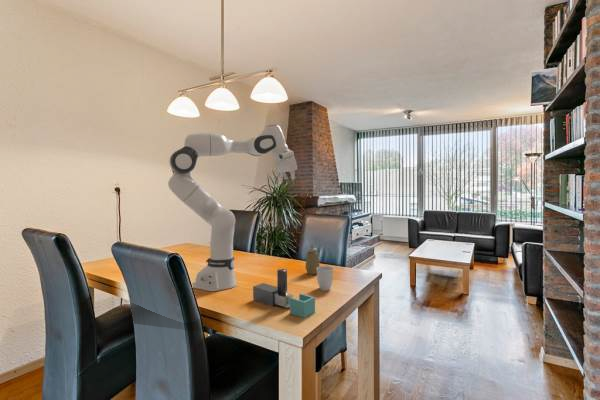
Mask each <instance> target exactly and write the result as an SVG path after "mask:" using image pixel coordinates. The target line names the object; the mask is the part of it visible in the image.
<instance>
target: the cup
mask: <svg viewBox="0 0 600 400" xmlns="http://www.w3.org/2000/svg"><path fill="white" fill-rule="evenodd" d="M316 279H317V283H318V287H319V289H320V290H321V291H330V290H331V288H332V285H333V279H334V267H332V266H329V265H320V267H317V274H316Z"/></svg>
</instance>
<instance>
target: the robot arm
mask: <svg viewBox="0 0 600 400" xmlns="http://www.w3.org/2000/svg"><path fill="white" fill-rule="evenodd" d="M269 152H271V153H272V156H273V159H274V161H273V162H274V166H275V170H276V171H277V173H280V174H281V176H282V177H283V179H284V180H288V179H289V177H288V175H287V173H289V174H290V178H291V180H295V179H296V176H295V175H296V171H297V170H298V163H297V161H296V158H295V153H294V151H293V150H291V149H290V148H289V146H288V144H287V143H286V137H285V135H284V133H283V129H282V128H281V126H279V125H278V124H270V125H266V126H265V127H264V129H263V130H262V131H261V133H259V134H258V135H257V136H256V137H253V138H250V139H248V140H235V139H234V140H233V139H230V138H227V136H225V135H224V134H222V133H221V134H220V133H216V132H215V133H214V132H198V133H190V134H188V135H187V136H186V137H185V139H184V146H183V147H182V148H179V149H177V150H175V151H174V152H173V153H172V154H171V155H170V157H169V160H168V161H169V166H170V168H171V171H172V173H173V174H172V175H171V176H170V177H169V180H168V183H167V185H168V188H169V190H170V191H171V192H172V193H173V194H174V195H175V196H176V197H177V199H179V200H180V201H181V202H182V203H184V204H185V205H186V206H187V207H188V208H190V209H191V210H192V211H193V212H194V213H195V214H197V215H198V216H199V217H200V218H201V219H203V220H204V222H206V223H207V224H208V225H210V226H211V232H210V233H211V235H210V241H209V249H210V252H209V253H210V257H208V258H207V259H206V260H205V263H207V265H206V266H204V267H203V268H202V269H201V270H200V271H198V272H197V274H196V275H195V276H196V277H195V281H193V282H192V283H191V284H192V285H193V288H192V289H197V290H203V291H207V292H208V291H209V292H218V291H222V290H223V291H224V290H227V289H231V288H234V287H236V286H237V285H238V283H237V279H236V275H235V257H234V236H235V228H236V217H235V214H234V213H233V212H232V210H230V209H227V208H225V207H224V206H222V204H221V203H220V202H218V201H217V200H216V199H215V198H214V197H213V195H212V194H211V193H209V192H208V191H207V190H206V189H204V187H202V186H201V185H200V184H199V183H198V182H197V181H196V180H195V179H194V178H193V177H192V176H191V172H192V171H193V170H194V169H195V167H196V165H197V161H198V158H201V157H218V156H223V155H227V154H231V153H236V154H237V153H240V154H241V153H244V154H249V155H251V156H254V157H260V156H263V155H266V154H268V153H269Z"/></svg>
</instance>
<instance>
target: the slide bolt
mask: <svg viewBox="0 0 600 400" xmlns="http://www.w3.org/2000/svg"><path fill="white" fill-rule="evenodd" d="M276 271H277V272H276V275H277V277H276V279H277V282H276V283H277V286H276V287H277V289H278V292H275V293H273V303H274V304H277V306H281V307H284V308H285V309H286V308H287V309H288V308H290V298H294V294H292V293H288V270H287V268H279V269H277V270H276Z"/></svg>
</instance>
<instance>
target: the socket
mask: <svg viewBox="0 0 600 400" xmlns="http://www.w3.org/2000/svg"><path fill="white" fill-rule="evenodd" d="M298 297H299V299H298V298H294V297H293V298H290V306H289V314H291V315H294V316H297V317H300V318H303V319H306V318H307V317H310V316H311V315H313V314H315V313H316V297H315V296H311V295H308V294H305V293H304V294H303V293H299V295H298Z"/></svg>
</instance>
